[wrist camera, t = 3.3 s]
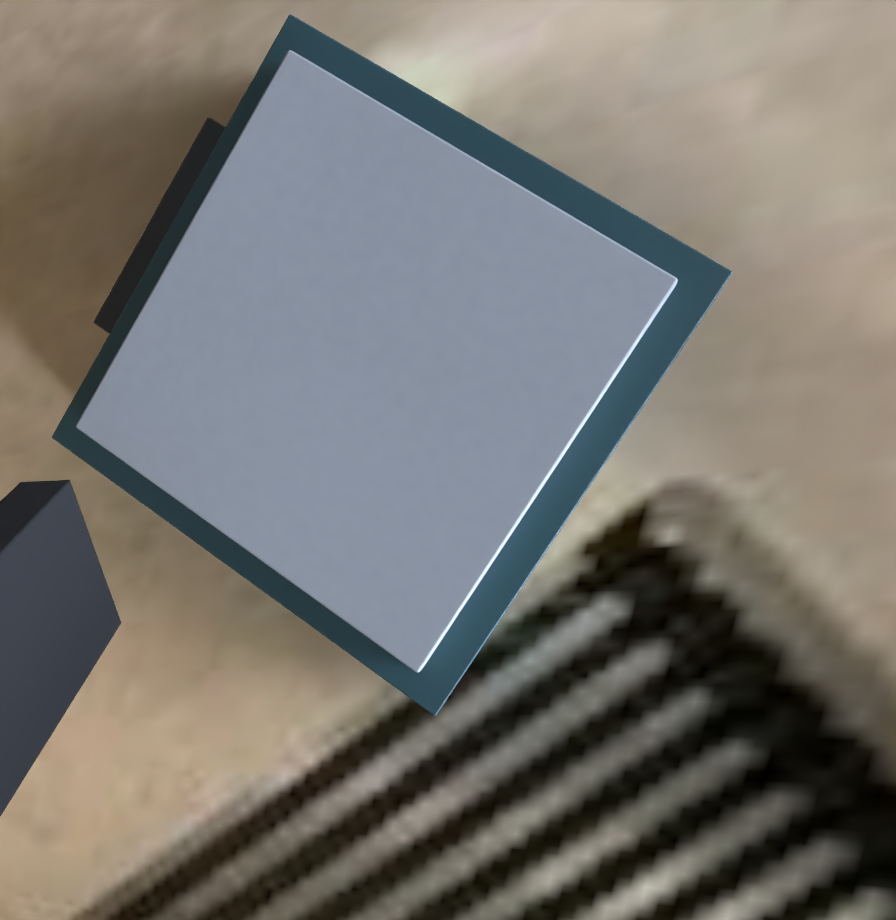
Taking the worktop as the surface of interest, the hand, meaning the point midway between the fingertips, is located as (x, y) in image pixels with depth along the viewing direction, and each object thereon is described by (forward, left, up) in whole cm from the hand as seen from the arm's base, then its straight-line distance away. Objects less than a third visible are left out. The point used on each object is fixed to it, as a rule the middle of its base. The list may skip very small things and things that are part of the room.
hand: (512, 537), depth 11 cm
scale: (-5, -4, -12) cm, 13 cm away
